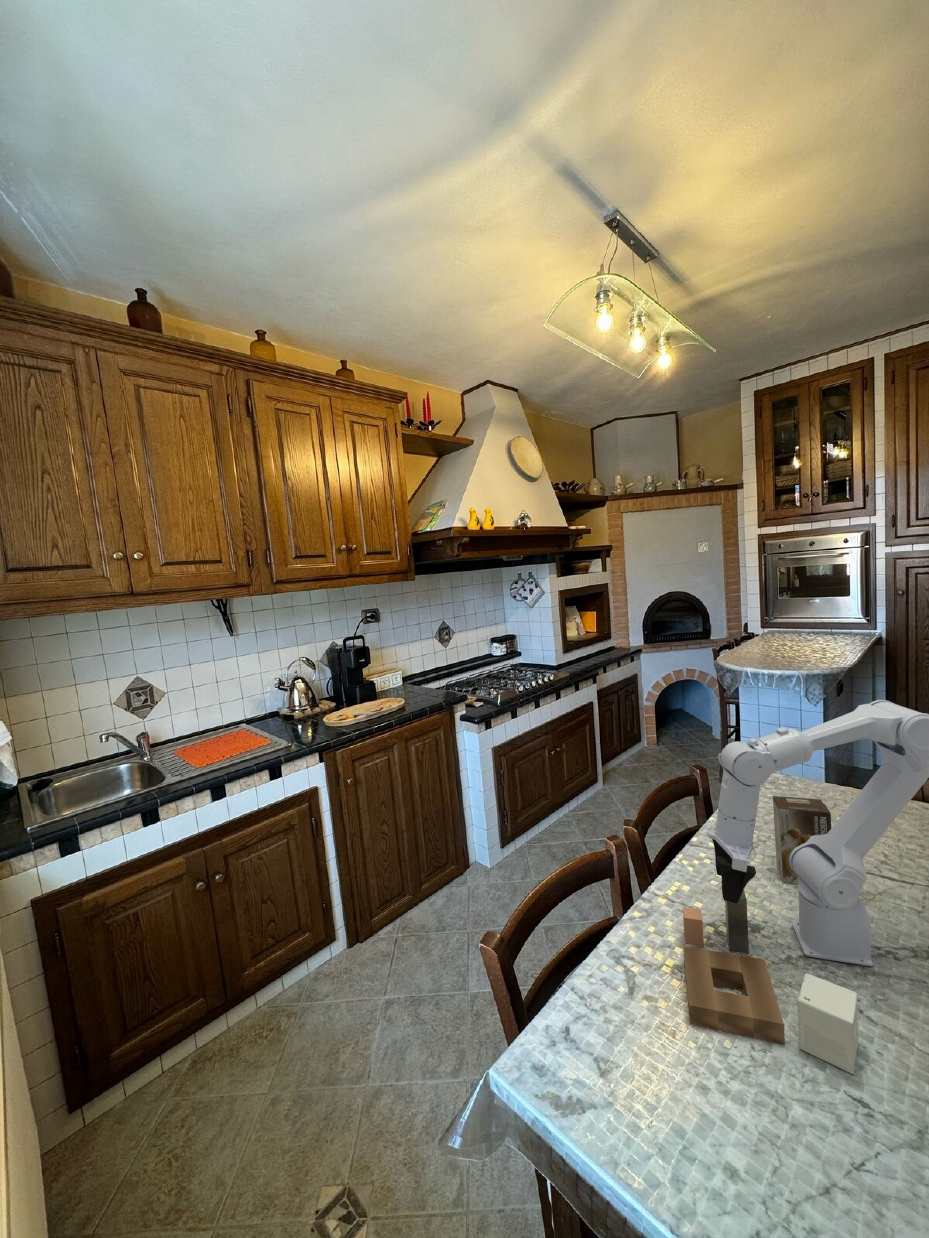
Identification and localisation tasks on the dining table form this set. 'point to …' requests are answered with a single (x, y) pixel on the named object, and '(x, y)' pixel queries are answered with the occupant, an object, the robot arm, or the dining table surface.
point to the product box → (828, 1022)
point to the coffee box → (796, 828)
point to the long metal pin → (737, 925)
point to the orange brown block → (693, 926)
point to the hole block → (732, 994)
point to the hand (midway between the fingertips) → (726, 887)
